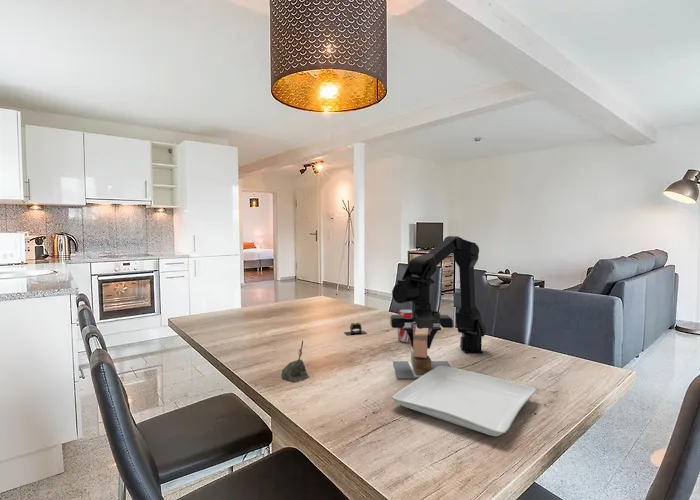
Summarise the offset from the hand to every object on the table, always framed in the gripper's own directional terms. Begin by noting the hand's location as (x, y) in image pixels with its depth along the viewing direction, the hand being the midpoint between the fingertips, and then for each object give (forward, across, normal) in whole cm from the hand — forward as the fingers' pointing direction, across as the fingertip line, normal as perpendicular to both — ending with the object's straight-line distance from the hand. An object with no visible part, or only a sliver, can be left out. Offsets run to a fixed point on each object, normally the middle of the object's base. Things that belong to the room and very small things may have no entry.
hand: (420, 348), depth 119 cm
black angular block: (+8, -20, +43) cm, 48 cm away
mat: (+7, +1, 0) cm, 7 cm away
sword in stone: (+7, -39, -4) cm, 40 cm away
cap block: (+1, 0, 0) cm, 1 cm away
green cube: (+6, 0, +3) cm, 7 cm away
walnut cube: (+6, 0, -3) cm, 7 cm away
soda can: (+7, 0, +32) cm, 33 cm away
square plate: (+7, +7, -24) cm, 26 cm away
